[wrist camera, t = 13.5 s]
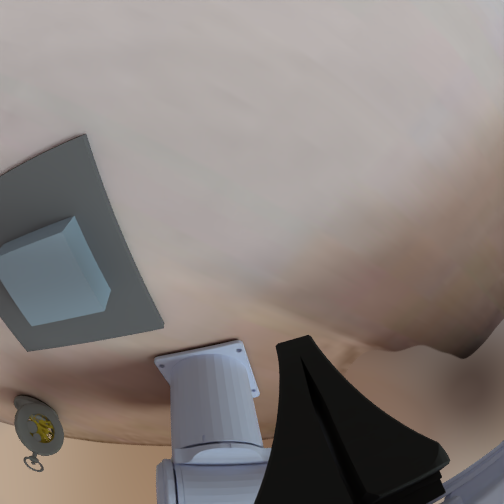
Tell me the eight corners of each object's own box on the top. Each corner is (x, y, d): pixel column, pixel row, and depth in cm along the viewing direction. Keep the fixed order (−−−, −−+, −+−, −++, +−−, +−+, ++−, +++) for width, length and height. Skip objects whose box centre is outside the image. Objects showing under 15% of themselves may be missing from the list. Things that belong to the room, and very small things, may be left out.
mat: (164, 322, 23) (163, 328, 22) (29, 347, 22) (27, 351, 21) (86, 133, 14) (82, 135, 14) (-53, 211, 14) (-57, 214, 13)
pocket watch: (21, 410, 28) (9, 470, 19) (7, 379, 24) (-13, 448, 16) (72, 426, 30) (65, 489, 22) (65, 398, 27) (52, 473, 18)
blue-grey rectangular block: (40, 307, 19) (110, 290, 20) (31, 326, 17) (104, 310, 18) (3, 244, 16) (74, 215, 16) (-11, 260, 14) (62, 232, 14)
